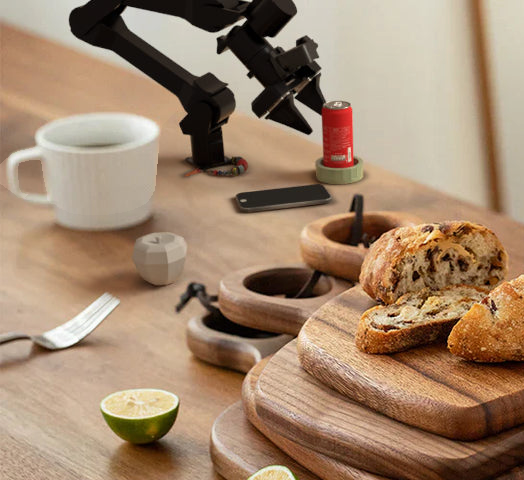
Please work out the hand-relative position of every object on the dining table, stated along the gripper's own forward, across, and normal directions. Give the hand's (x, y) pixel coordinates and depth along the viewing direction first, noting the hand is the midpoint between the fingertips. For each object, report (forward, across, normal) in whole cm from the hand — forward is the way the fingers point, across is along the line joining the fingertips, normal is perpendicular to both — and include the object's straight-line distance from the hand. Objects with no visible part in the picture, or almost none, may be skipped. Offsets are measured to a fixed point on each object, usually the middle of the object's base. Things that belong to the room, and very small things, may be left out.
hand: (321, 125), depth 183 cm
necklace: (-7, -4, +20) cm, 21 cm away
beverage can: (+8, 0, +4) cm, 9 cm away
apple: (+2, -47, +10) cm, 48 cm away
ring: (+8, 0, +4) cm, 9 cm away
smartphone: (+5, -14, +7) cm, 16 cm away
